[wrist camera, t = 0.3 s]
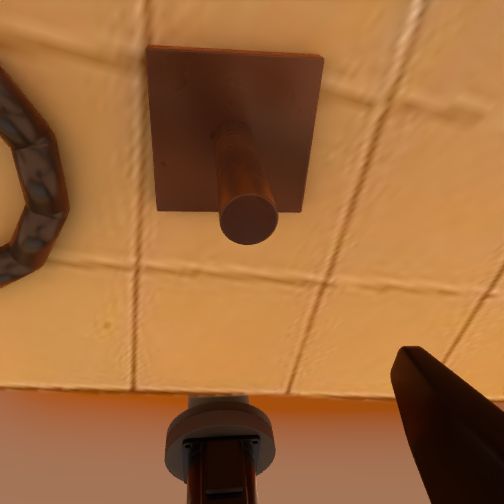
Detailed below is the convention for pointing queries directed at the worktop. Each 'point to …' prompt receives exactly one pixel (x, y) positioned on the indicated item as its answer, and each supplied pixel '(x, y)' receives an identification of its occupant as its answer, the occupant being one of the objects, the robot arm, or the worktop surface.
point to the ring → (31, 184)
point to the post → (232, 133)
